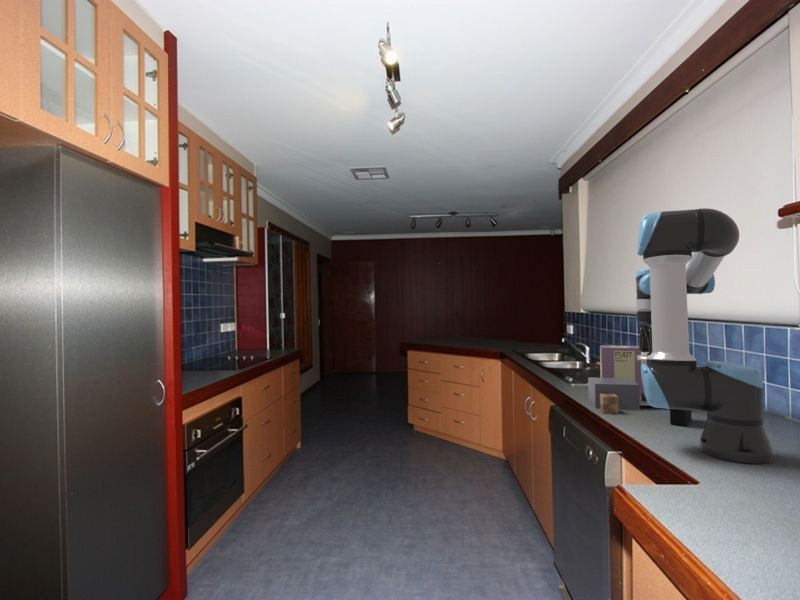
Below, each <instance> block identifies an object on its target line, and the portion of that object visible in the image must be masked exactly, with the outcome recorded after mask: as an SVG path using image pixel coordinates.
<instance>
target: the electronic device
mask: <svg viewBox="0 0 800 600" xmlns="http://www.w3.org/2000/svg"><path fill="white" fill-rule="evenodd" d="M669 421H670V425H673V426H674V425H675V426H679V427H680V426H681V427H687V426H688V424H689V423H690V422H692V410H681V409H669Z"/></svg>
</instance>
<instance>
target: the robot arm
mask: <svg viewBox="0 0 800 600" xmlns="http://www.w3.org/2000/svg"><path fill="white" fill-rule="evenodd" d="M739 240H740V230H739V227H738V224H737V223H736V222H735V220H734V219H733V218H732V217H731V216H729V215H728V214H727V213H724V212H722V211H721V210H719V209H718V210H717V209H714V208H695V209H682V210H681V209H680V210H679V209H678V210H667V211H661V210H660V211H658V212H653V213H652V212H651V213H646V214H645V215H643V216H642V218H641V221H640V224H639V229H638V235H637V243H636V244H637V245H636V254H637V255H638V256H640V257H641V256H642V257H643V258H642V260H643V263H645V264H646V265H647V266H648V267H649V269H648V268H646V269H645V268H644V269H639V270H636V273H635V282H636V283H635V286H636V289H635V290H636V291H635V292H636V300H635V302H636V304H635V305H636V310H637V312H636V321H638V322H642V323H641V324H639V325H638V327H639V345H638V346H639V349H641V355H648V357H647V362H642V361H641V363H642V365H641V377H642V383H643V388H644V392H645V396H646V399H647V402H648V403H649V405H648V406H650V405H651V407H652V408H656V409H657V408H658V409H665V410H667V411H668V410H669V411H670V409H681V410H691V411H697V412H706V423H705V426H704V428H703V431H702V434H701V435H700V438H699V449H700V451H701V452H702V453H705V454H706V455H709V456H711V457H714V458H717V459H719V460H720V459H721V460H725V461H730V462H735V463H743V464H745V463H746V464H759V465H760V464H768V463H771V462H773V461H774V450H773V447H772V444H771V442H770V440H769V438H768V437H769V436H768V435H767V433H766V430H765V427H764V391H763V390H764V389H765V388H764V383H763V376H762V373H761V371H760V370H759V369H757V368H755V367H753V366H749V365H748V366H747V365H743V364H739V363H732V362H726V361H719V360H718V361H717V360H707V361H706V362H705V364H704V366H703V365H702V366H700V365H699V366H698V365H697V359H696V358H695V357H694V356H693V355H692V354H691V353H690V338H689V337H690V336H689V316H688V315H689V312H688V311H689V310H688V295H696V294H697V295H702V294H711V293H713V292H714V290H715V286H716V278H715V274H714V273H716V271H717V269H718V267H719V266H720V264H721V262H722V261H724V260H723V259H724V258H725V257H726V256H728V255H730V254H731V253H733V251H734V250H735V248H736V247H737V245H738V243H739ZM686 266H687V267H686Z"/></svg>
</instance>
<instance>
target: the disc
mask: <svg viewBox="0 0 800 600" xmlns="http://www.w3.org/2000/svg"><path fill="white" fill-rule="evenodd" d="M647 357H648V355H637V361H642V362H647Z"/></svg>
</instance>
